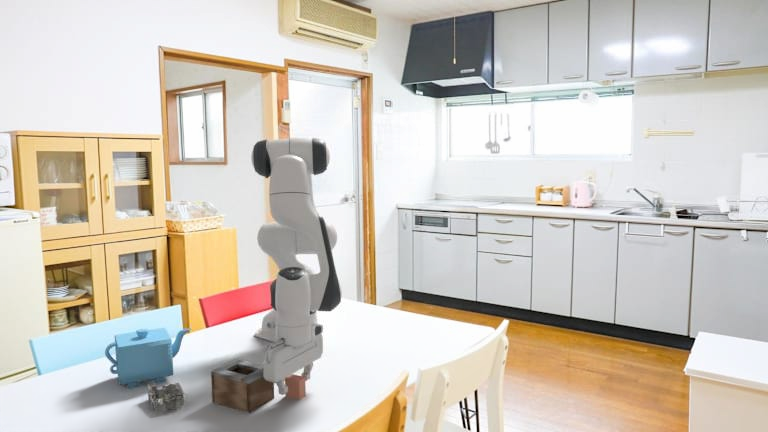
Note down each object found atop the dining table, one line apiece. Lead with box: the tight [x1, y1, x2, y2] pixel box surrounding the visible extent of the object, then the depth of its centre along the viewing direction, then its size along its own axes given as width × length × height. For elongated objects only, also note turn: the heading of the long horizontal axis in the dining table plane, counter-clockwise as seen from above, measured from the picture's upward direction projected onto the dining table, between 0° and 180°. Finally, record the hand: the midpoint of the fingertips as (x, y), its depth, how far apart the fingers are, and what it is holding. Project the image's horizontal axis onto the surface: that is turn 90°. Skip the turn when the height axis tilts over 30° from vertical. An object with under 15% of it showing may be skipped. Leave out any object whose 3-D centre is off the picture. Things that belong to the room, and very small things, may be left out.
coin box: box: [210, 358, 275, 414], centre depth 137 cm, size 12×9×8 cm
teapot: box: [104, 327, 192, 389], centre depth 151 cm, size 22×11×14 cm, turn 120°
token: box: [284, 373, 307, 400], centre depth 140 cm, size 4×2×5 cm, turn 62°
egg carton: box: [147, 382, 185, 414], centre depth 136 cm, size 11×8×4 cm
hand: (294, 386), depth 140 cm, fingers open, 8 cm apart
